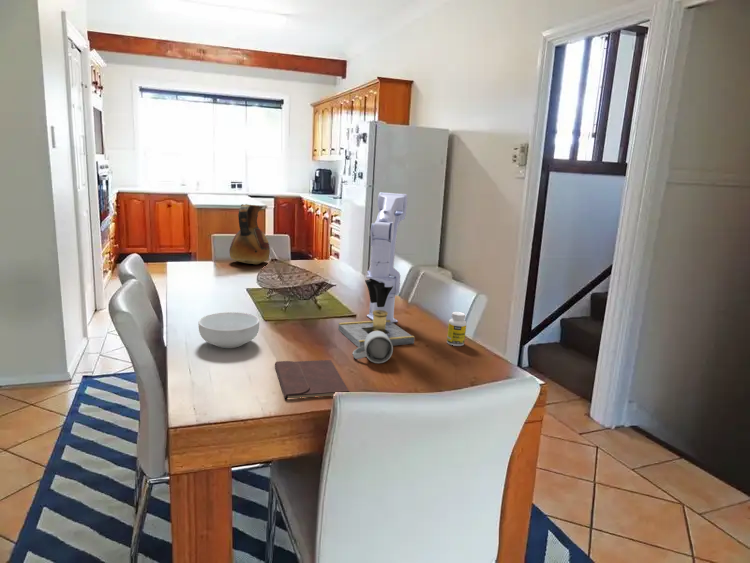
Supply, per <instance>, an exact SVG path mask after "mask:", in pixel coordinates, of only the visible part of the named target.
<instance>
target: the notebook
mask: <svg viewBox="0 0 750 563" xmlns="http://www.w3.org/2000/svg"><path fill="white" fill-rule="evenodd" d="M274 368H275V371H276V374H277V377H278V380H279V385H280V387H281V391H282V393H283V394H282V395H283V397H284V399H285V398H286V399H287V397H288V398H300V397H301V398H302V397H315V396H331V397H334V396H333V394H334V393H335V392H350V390H349V388H348V387H347V385H346V383H345V382H344V379H342V377H341V374H340V373H339V372H338V370H337V368H336V366H335V365H334V363H333V362H332V359H320V360H301V361H299V360H298V361H291V360H283V361H282V360H281V361H275V364H274Z"/></svg>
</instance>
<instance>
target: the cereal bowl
mask: <svg viewBox="0 0 750 563" xmlns="http://www.w3.org/2000/svg"><path fill="white" fill-rule="evenodd" d="M259 330H260V319H259V317H258V316H256V315H254V314H251V313H247V312H246V313H245V312H235V311H232V312H227V311H225V312H217V313H211V314H207V315H206V316H205V315H204V316H203V317H201V318H200V319H199V320H198V332H199V335H200V337H201V338H202V339H203V341H205V342H207V344H210V345H214V346H216V347H218V348H222V349H234V348H240V347H241V346H243V345H245V344H246V343H247V344H248V343H250V342H251V341H253V339H254V338H256V336H257V335H258V333H259Z"/></svg>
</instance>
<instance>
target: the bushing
mask: <svg viewBox="0 0 750 563" xmlns="http://www.w3.org/2000/svg"><path fill="white" fill-rule="evenodd" d="M387 314H388V312H386V311H383V310H374V311H373V315H374V317H373V320H372V321H373V331H381V332H384V333H385V328H386V316H387ZM373 331H372V332H373Z"/></svg>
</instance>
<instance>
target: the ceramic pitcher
mask: <svg viewBox="0 0 750 563" xmlns="http://www.w3.org/2000/svg"><path fill="white" fill-rule="evenodd" d="M263 207H264V206H262V205H255V204H248V203H245V204H240V207H239V210H238V212H237V213H238V214H237V215H238V225H239V230H238V231H237V232H236V233H235V235H234V236H233V239H232V241H231V243H230V247H229V257H230V258H231V260H233V261H236V262H239V263H242V264H243V263H244V264H253V265H259V264H261V263H264V262H267V261H268V260H269V259H270V254H271V250H270V248H271V247H270V243H269V239H268V238H267V236H266V234H265V233H264V232H263V230H261V229H260V228H259V226H258V225H259V224H258V216H259V212H260V211H261V210H262V209H263Z"/></svg>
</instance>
